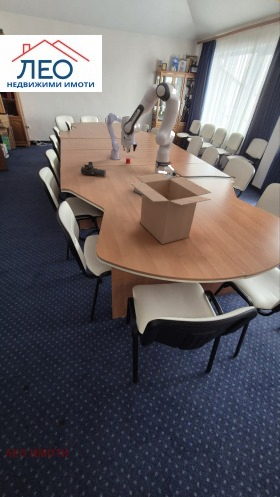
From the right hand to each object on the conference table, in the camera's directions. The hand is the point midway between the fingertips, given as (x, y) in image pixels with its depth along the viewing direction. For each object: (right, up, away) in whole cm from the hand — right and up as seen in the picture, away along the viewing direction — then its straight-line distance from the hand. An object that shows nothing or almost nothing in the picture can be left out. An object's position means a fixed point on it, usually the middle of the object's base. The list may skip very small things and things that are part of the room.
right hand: (125, 151), depth 215 cm
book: (+22, -48, -37) cm, 65 cm away
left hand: (+4, +17, +38) cm, 41 cm away
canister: (+1, -2, +23) cm, 23 cm away
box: (+28, -83, -84) cm, 121 cm away
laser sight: (-29, -28, -14) cm, 42 cm away
